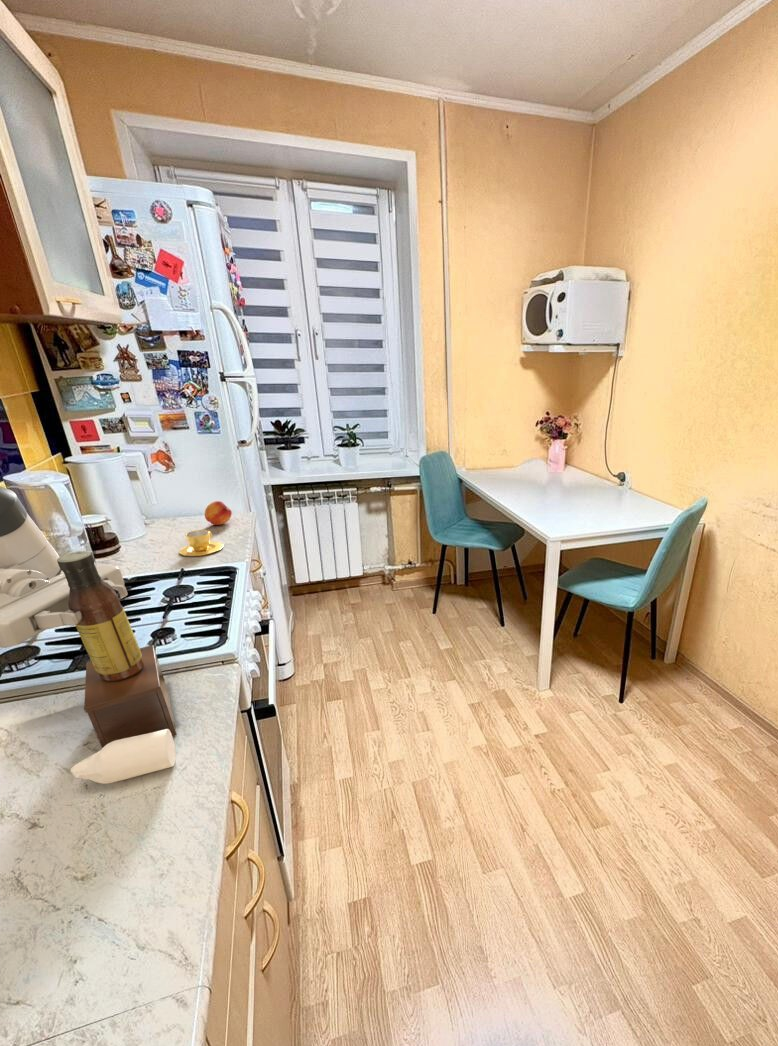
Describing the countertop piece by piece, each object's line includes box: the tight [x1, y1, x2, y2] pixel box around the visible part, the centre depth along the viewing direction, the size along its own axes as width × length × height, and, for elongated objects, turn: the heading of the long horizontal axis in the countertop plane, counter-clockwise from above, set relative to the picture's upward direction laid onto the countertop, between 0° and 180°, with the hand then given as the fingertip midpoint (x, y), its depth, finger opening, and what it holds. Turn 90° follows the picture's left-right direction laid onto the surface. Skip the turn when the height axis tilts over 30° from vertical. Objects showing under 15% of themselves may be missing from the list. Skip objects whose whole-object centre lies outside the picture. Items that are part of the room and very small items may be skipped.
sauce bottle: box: [57, 550, 144, 681], centre depth 76 cm, size 7×6×20 cm
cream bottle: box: [70, 729, 176, 784], centre depth 74 cm, size 6×12×6 cm, turn 114°
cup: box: [179, 529, 224, 557], centre depth 155 cm, size 12×12×5 cm
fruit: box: [204, 500, 233, 526], centre depth 177 cm, size 8×8×8 cm
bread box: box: [86, 651, 177, 749], centre depth 83 cm, size 13×9×9 cm
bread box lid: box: [83, 644, 161, 714], centre depth 80 cm, size 14×9×1 cm, turn 34°
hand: (101, 604), depth 75 cm, fingers open, 7 cm apart
